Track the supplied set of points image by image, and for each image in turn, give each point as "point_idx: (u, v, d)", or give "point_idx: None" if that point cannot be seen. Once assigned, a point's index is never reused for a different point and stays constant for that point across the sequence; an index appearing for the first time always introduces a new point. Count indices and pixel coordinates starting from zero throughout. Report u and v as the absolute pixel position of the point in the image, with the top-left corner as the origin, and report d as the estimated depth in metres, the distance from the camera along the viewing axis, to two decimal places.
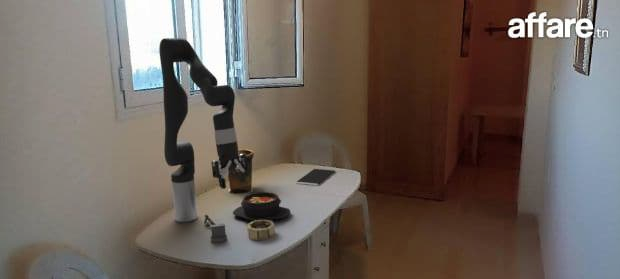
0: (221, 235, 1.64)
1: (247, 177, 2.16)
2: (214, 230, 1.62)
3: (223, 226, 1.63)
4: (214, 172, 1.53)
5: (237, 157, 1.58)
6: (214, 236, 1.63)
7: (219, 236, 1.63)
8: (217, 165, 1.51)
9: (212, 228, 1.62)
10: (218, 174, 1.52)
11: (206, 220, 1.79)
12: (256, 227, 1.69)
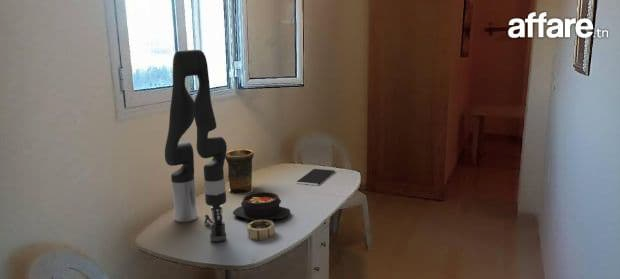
0: None
1: (247, 177, 2.16)
2: (213, 228, 1.62)
3: (223, 224, 1.63)
4: None
5: None
6: (213, 234, 1.63)
7: None
8: (221, 218, 1.58)
9: (212, 226, 1.62)
10: (221, 223, 1.60)
11: (206, 220, 1.78)
12: (256, 227, 1.69)
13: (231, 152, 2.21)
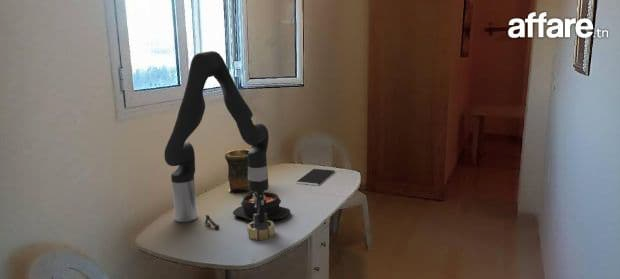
0: (263, 223, 1.67)
1: (247, 177, 2.16)
2: (257, 219, 1.65)
3: (265, 214, 1.66)
4: None
5: None
6: (257, 224, 1.66)
7: (261, 224, 1.67)
8: (265, 203, 1.60)
9: (255, 216, 1.65)
10: None
11: (207, 220, 1.78)
12: None
13: (231, 152, 2.21)
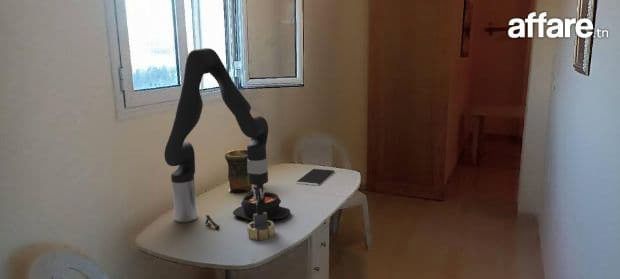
0: (263, 223, 1.67)
1: (247, 177, 2.16)
2: (257, 219, 1.65)
3: (265, 214, 1.66)
4: None
5: None
6: (257, 224, 1.66)
7: (261, 224, 1.67)
8: (264, 197, 1.61)
9: (255, 216, 1.65)
10: None
11: (207, 220, 1.78)
12: None
13: (231, 152, 2.21)
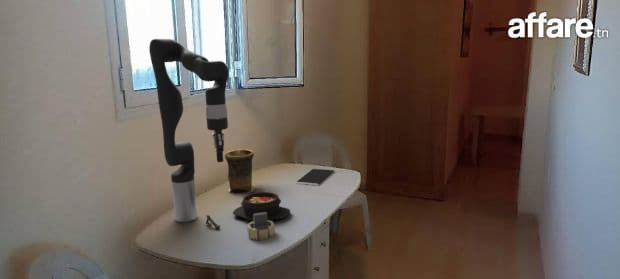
0: (263, 223, 1.67)
1: (247, 177, 2.16)
2: (257, 219, 1.65)
3: (265, 214, 1.66)
4: None
5: None
6: (257, 224, 1.66)
7: (261, 224, 1.67)
8: None
9: (255, 216, 1.65)
10: None
11: (208, 220, 1.78)
12: None
13: (231, 152, 2.21)
